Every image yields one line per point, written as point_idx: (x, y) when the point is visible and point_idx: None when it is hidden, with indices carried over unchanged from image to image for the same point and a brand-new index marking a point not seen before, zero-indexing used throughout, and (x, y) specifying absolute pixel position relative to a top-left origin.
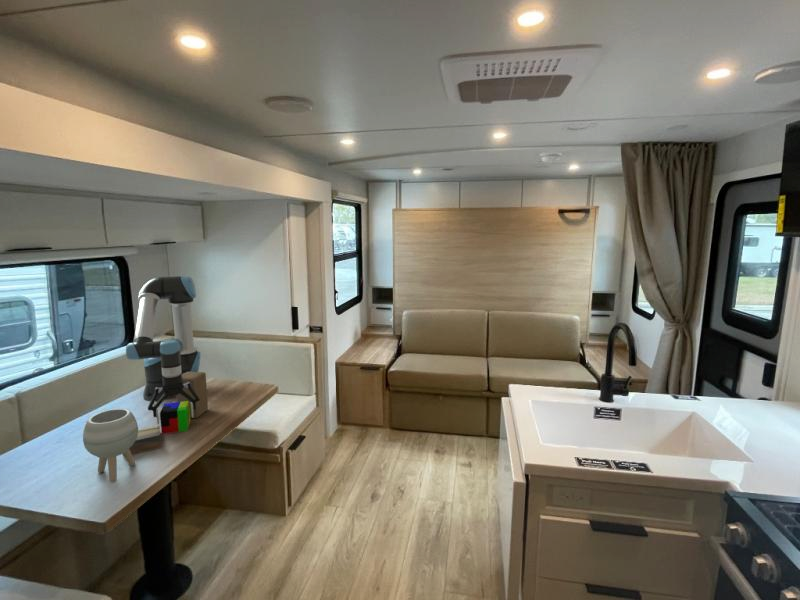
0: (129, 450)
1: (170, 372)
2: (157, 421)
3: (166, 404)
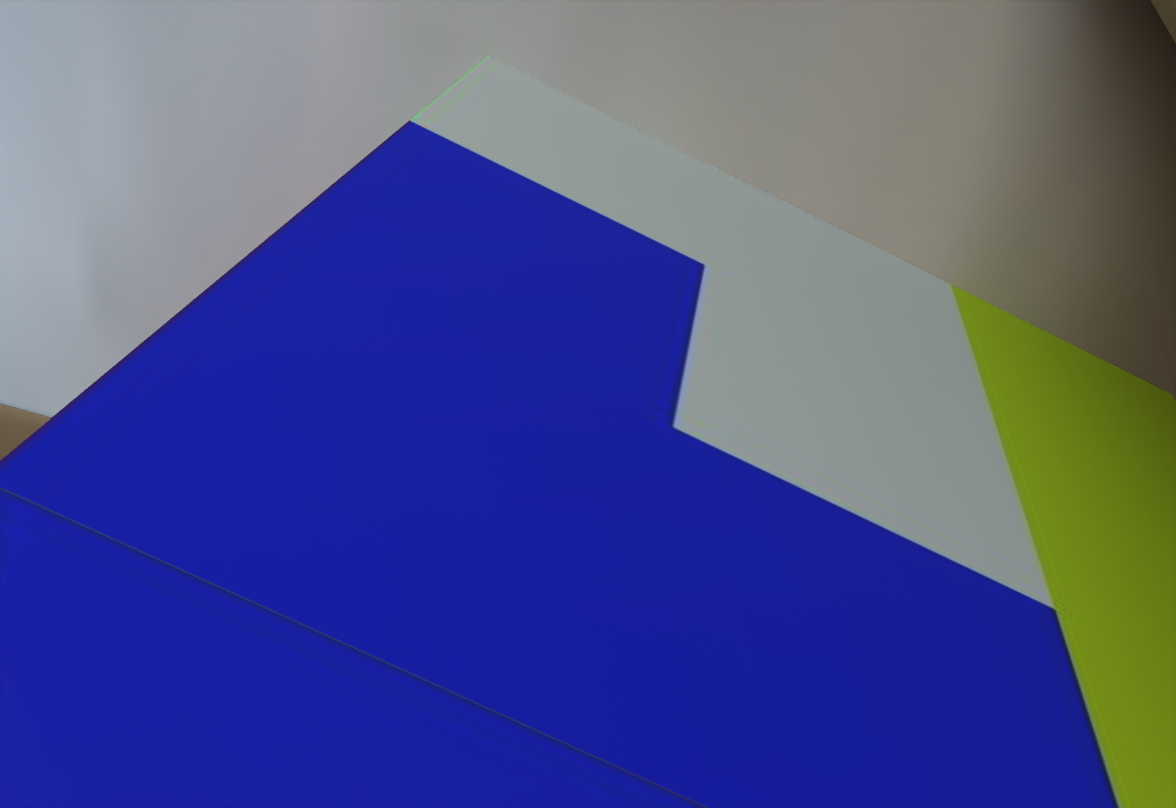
0: None
1: None
2: None
3: (139, 733)
